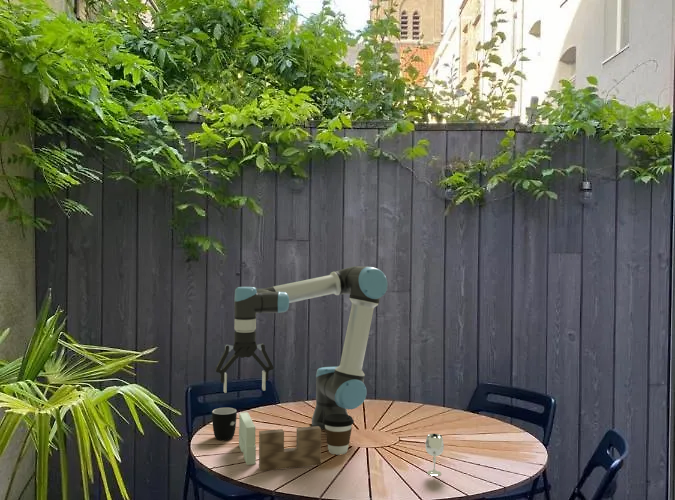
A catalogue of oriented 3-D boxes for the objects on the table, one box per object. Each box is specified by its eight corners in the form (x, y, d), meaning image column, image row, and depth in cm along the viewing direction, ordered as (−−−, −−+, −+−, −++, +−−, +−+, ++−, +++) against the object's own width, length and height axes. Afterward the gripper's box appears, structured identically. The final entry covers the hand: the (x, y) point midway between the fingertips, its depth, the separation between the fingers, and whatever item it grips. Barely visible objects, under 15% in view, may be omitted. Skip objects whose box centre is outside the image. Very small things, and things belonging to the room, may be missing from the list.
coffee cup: (357, 448, 217) (357, 415, 217) (348, 459, 207) (348, 423, 207) (328, 445, 221) (328, 412, 220) (317, 455, 210) (318, 420, 210)
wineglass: (423, 470, 197) (423, 433, 197) (440, 469, 198) (441, 432, 198) (427, 477, 192) (427, 438, 191) (445, 476, 192) (445, 438, 192)
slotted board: (318, 461, 204) (318, 426, 204) (320, 464, 201) (321, 428, 201) (259, 467, 198) (259, 430, 198) (260, 471, 195) (260, 433, 195)
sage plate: (247, 444, 221) (247, 411, 221) (255, 464, 202) (255, 427, 201) (238, 445, 220) (239, 412, 220) (246, 464, 201) (246, 428, 200)
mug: (231, 442, 223) (231, 414, 223) (208, 441, 224) (208, 413, 224) (242, 432, 235) (242, 406, 234) (220, 431, 236) (220, 404, 236)
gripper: (278, 328, 222) (277, 386, 223) (208, 330, 215) (207, 390, 216) (282, 331, 215) (281, 391, 216) (209, 333, 208) (209, 395, 208)
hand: (244, 390), depth 216 cm, fingers open, 13 cm apart
